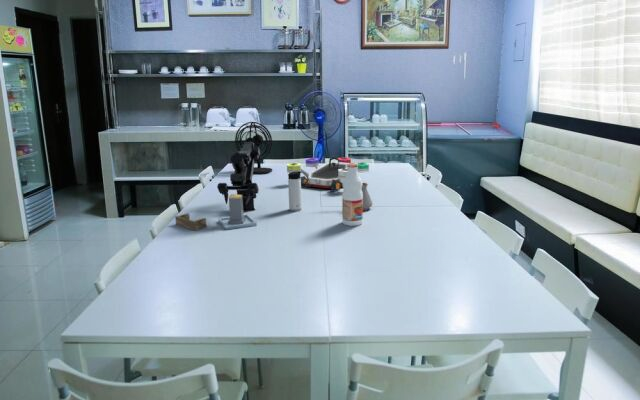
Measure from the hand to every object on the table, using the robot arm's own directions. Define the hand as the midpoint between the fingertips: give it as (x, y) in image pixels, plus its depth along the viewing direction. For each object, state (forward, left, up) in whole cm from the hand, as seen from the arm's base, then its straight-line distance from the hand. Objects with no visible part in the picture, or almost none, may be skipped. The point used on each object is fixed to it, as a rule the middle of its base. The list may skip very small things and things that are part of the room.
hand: (236, 203), depth 240 cm
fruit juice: (-49, +24, -10) cm, 55 cm away
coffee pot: (-60, +1, -10) cm, 61 cm away
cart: (-75, -55, -10) cm, 93 cm away
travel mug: (-33, -9, -10) cm, 36 cm away
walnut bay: (+20, -7, -10) cm, 23 cm away
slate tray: (0, 0, -10) cm, 10 cm away
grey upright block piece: (0, 0, -9) cm, 9 cm away
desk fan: (-43, -110, -10) cm, 119 cm away
